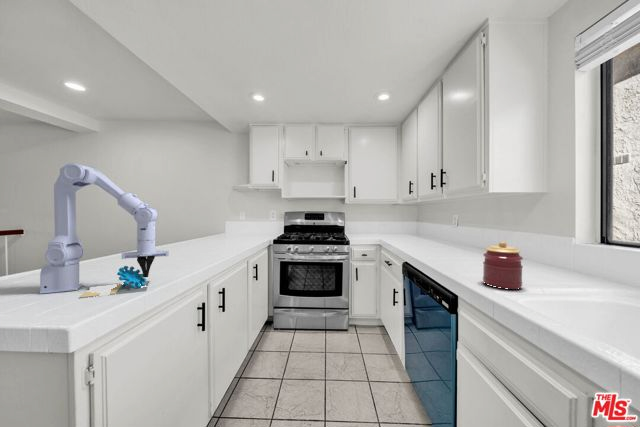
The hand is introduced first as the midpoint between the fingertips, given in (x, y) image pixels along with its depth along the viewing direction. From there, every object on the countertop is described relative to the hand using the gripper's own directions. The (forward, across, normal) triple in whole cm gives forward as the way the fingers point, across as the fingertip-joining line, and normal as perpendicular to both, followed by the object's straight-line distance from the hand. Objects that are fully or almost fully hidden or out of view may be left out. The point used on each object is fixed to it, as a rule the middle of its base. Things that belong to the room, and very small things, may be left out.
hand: (145, 276), depth 99 cm
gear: (+4, -4, 0) cm, 5 cm away
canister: (+3, +124, -59) cm, 137 cm away
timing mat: (+4, -8, 0) cm, 9 cm away
